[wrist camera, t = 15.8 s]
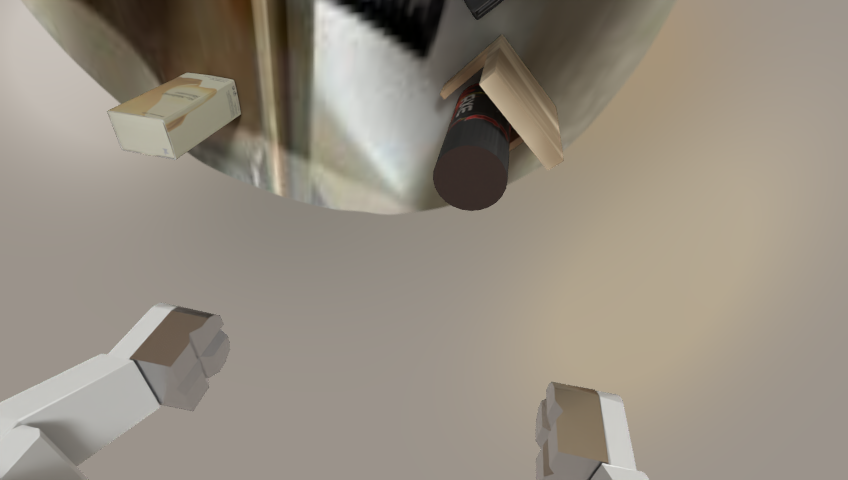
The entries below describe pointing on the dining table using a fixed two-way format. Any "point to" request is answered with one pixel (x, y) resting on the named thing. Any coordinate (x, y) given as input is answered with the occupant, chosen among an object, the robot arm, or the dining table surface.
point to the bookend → (481, 6)
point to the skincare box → (175, 115)
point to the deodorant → (474, 153)
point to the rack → (515, 100)
